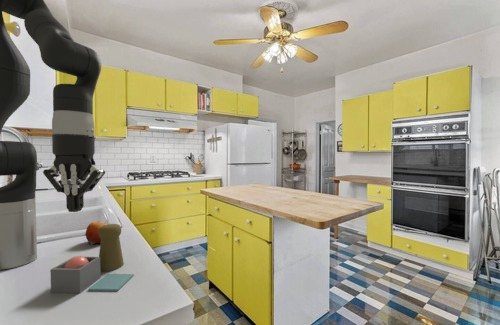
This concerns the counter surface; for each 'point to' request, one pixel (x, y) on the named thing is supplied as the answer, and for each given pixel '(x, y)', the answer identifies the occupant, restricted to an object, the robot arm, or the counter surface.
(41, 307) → the counter surface
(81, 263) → the salmon pink ball
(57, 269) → the housing
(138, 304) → the counter surface
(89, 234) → the fruit
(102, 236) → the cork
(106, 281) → the tile
